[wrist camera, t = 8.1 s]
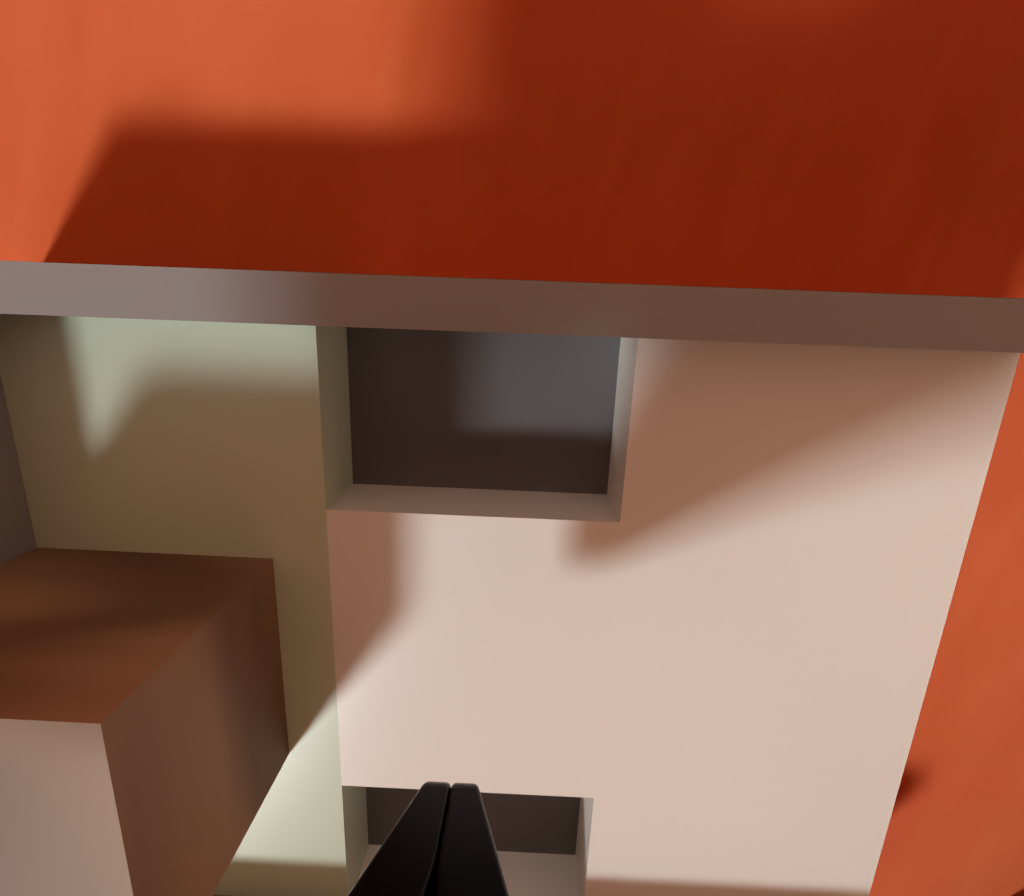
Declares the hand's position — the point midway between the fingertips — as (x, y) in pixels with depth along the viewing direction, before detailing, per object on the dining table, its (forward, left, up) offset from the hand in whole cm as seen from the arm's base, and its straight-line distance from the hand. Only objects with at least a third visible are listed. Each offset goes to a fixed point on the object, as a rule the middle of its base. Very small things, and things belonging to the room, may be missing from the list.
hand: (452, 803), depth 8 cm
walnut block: (+7, 0, -3) cm, 8 cm away
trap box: (0, 0, -5) cm, 5 cm away
